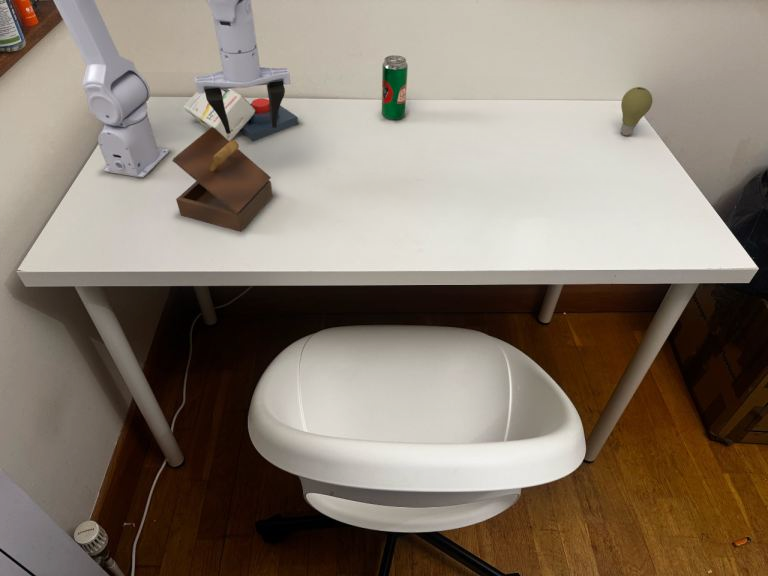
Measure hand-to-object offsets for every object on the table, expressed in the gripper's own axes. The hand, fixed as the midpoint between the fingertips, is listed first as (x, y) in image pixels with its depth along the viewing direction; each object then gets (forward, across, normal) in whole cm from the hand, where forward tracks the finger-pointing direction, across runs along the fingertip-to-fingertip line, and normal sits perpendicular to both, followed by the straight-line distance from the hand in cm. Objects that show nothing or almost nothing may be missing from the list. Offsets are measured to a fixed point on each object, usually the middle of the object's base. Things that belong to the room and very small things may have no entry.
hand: (251, 127), depth 95 cm
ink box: (+6, +8, -26) cm, 28 cm away
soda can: (+10, -31, -17) cm, 37 cm away
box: (+10, -3, -20) cm, 23 cm away
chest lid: (+3, +6, +7) cm, 10 cm away
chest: (+10, +6, +7) cm, 14 cm away
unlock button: (+7, -3, -20) cm, 21 cm away
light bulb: (+10, -75, +3) cm, 75 cm away
